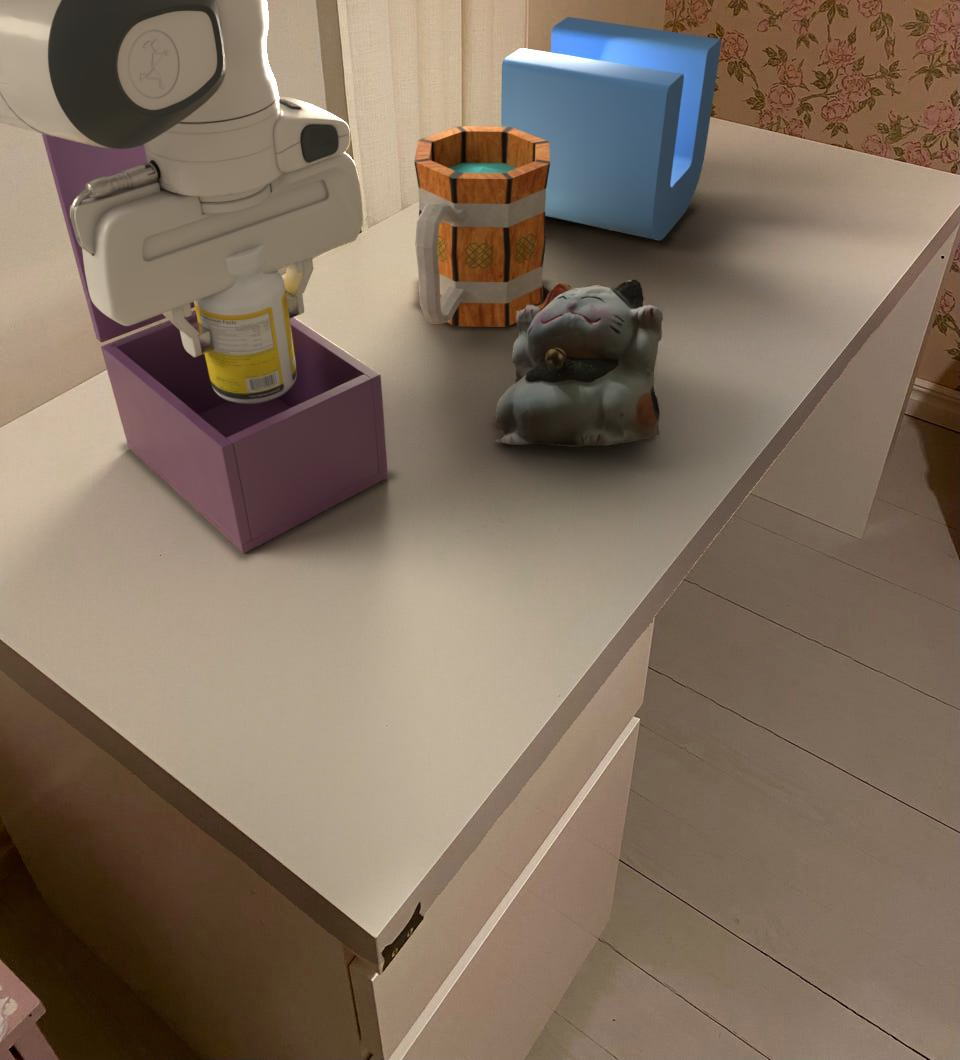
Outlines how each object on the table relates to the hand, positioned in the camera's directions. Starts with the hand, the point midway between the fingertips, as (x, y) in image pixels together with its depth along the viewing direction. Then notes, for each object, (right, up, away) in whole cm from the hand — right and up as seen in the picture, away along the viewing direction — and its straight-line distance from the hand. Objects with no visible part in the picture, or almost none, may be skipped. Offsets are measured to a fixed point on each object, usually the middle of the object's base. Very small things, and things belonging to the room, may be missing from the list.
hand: (246, 331), depth 76 cm
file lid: (-7, +10, +2) cm, 12 cm away
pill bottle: (0, -4, +3) cm, 5 cm away
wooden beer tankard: (+16, +8, +29) cm, 34 cm away
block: (+31, +23, +47) cm, 61 cm away
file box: (-1, -9, +10) cm, 13 cm away
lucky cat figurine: (+25, -6, +14) cm, 29 cm away
